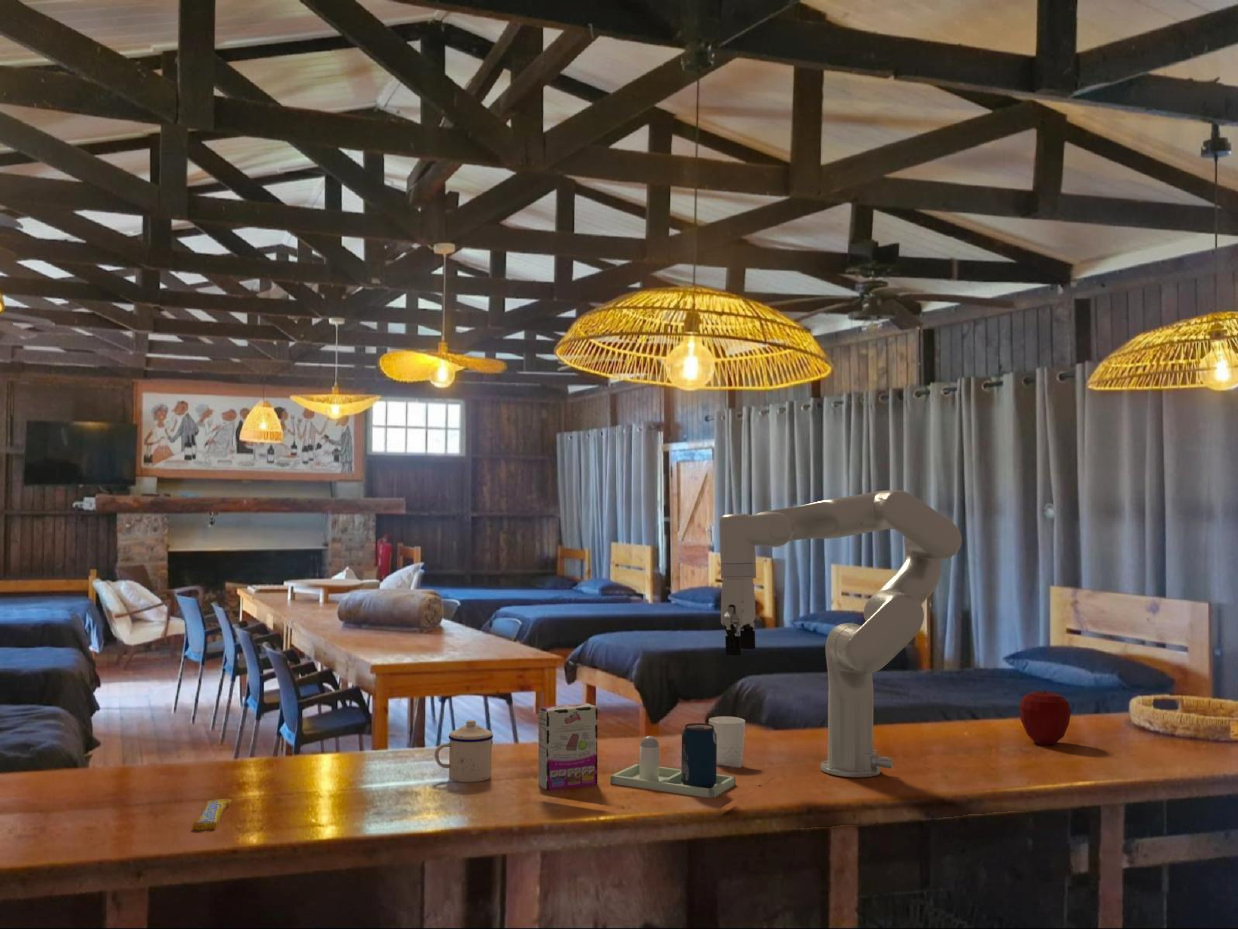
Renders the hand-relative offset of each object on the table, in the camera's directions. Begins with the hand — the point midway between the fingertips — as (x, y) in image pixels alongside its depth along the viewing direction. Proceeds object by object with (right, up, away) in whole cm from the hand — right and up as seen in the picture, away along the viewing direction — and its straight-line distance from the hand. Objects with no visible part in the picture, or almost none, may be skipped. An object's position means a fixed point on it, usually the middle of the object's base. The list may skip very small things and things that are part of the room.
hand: (740, 652), depth 229 cm
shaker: (-20, -24, -12) cm, 33 cm away
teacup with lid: (-58, -25, -8) cm, 64 cm away
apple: (+78, -29, +34) cm, 90 cm away
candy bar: (-98, -23, -38) cm, 108 cm away
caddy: (-15, -25, -15) cm, 33 cm away
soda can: (-10, -24, -17) cm, 31 cm away
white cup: (-2, -26, +6) cm, 27 cm away
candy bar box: (-36, -25, -16) cm, 47 cm away
